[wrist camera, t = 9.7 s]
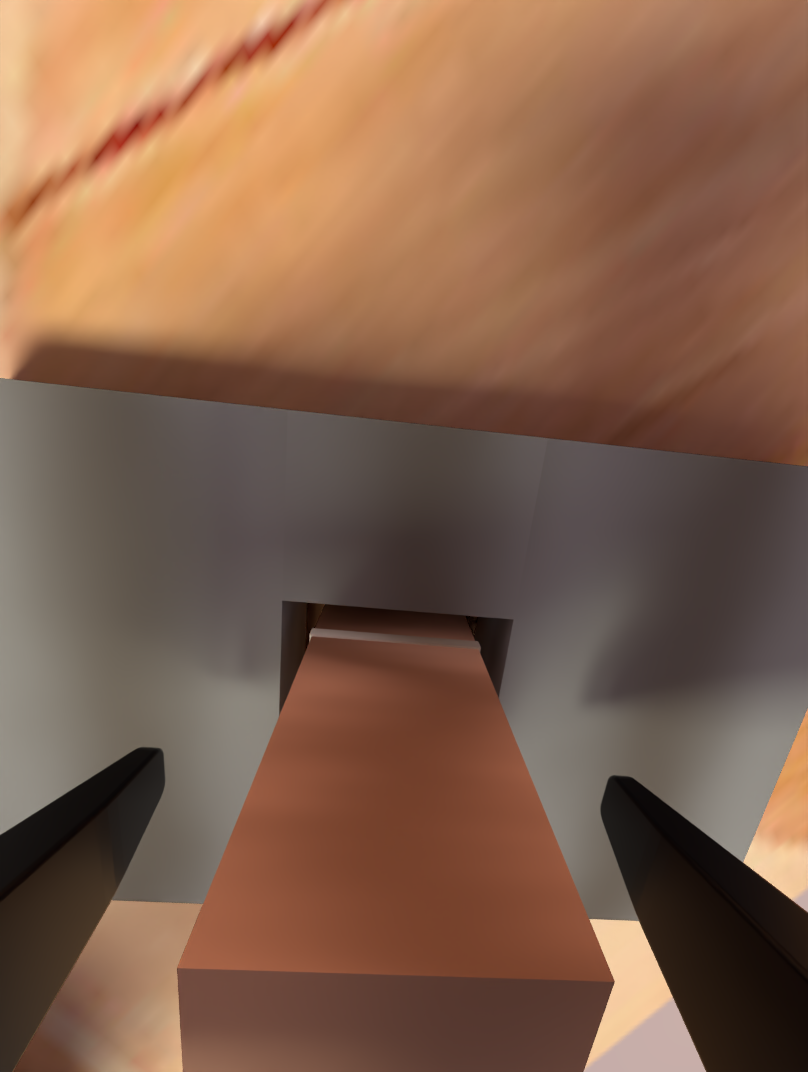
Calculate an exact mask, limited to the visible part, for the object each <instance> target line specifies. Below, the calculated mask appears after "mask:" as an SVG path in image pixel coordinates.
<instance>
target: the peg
mask: <svg viewBox="0 0 808 1072" xmlns="http://www.w3.org/2000/svg"><path fill="white" fill-rule="evenodd" d="M480 650H481V647H480V644H479V642H478V641H475V639H474V637H473V635H472V632H471V630H470V627H469V625H468V622H467V620H466V618H465V616H464V615H452V614H440V613H428V612H416V611H404V610H391V609H379V608H367V607H355V606H343V605H331V604H325V605H324V607H323V610H322V612H321V615H320V617H319V620H318V622H317V625H316V627H315V628H312V630H311V632H310V639H309V644H308V647H307V649H306V652H305V654H304V657H303V659H302V662H301V664H300V666H299V669H298V671H297V674H296V676H295V679H294V681H293V684H292V686H291V689H290V691H289V694H288V696H287V699H286V701H285V703H284V706H283V708H282V711H281V713H280V716H279V718H278V721H277V723H276V726H275V728H274V731H273V733H272V735H271V738H270V740H269V743H268V745H267V748H266V750H265V753H264V755H263V758H262V760H261V763H260V765H259V768H258V770H257V772H256V775H255V777H254V780H253V782H252V785H251V787H250V790H249V792H248V795H247V797H246V800H245V802H244V804H243V807H242V809H241V812H240V814H239V817H238V819H237V822H236V824H235V827H234V829H233V832H232V834H231V837H230V839H229V841H228V844H227V846H226V849H225V851H224V854H223V856H222V859H221V861H220V864H219V866H218V869H217V871H216V874H215V876H214V878H213V881H212V883H211V886H210V888H209V891H208V893H207V896H206V898H205V901H204V903H203V906H202V908H201V910H200V913H199V915H198V918H197V920H196V923H195V925H194V928H193V930H192V933H191V935H190V938H189V940H188V943H187V945H186V947H185V950H184V952H183V955H182V957H181V960H180V962H179V965H178V967H177V974H178V992H179V1010H180V1028H181V1045H182V1063H183V1072H583V1071H584V1068H585V1066H586V1063H587V1060H588V1057H589V1054H590V1051H591V1048H592V1045H593V1043H594V1040H595V1037H596V1034H597V1031H598V1028H599V1025H600V1022H601V1020H602V1017H603V1014H604V1011H605V1008H606V1005H607V1002H608V999H609V997H610V994H611V991H612V988H613V985H614V982H615V981H614V979H613V976H612V974H611V972H610V969H609V967H608V964H607V962H606V959H605V957H604V954H603V952H602V950H601V947H600V945H599V942H598V940H597V937H596V935H595V932H594V930H593V928H592V925H591V923H590V920H589V918H588V915H587V913H586V910H585V908H584V906H583V903H582V901H581V898H580V896H579V893H578V891H577V889H576V886H575V884H574V881H573V879H572V876H571V874H570V871H569V869H568V867H567V864H566V862H565V859H564V857H563V854H562V852H561V849H560V847H559V845H558V842H557V840H556V837H555V835H554V832H553V830H552V827H551V825H550V823H549V820H548V818H547V815H546V813H545V810H544V808H543V806H542V803H541V801H540V798H539V796H538V793H537V791H536V788H535V786H534V784H533V781H532V779H531V776H530V774H529V771H528V769H527V766H526V764H525V762H524V759H523V757H522V754H521V752H520V749H519V747H518V744H517V742H516V740H515V737H514V735H513V732H512V730H511V727H510V725H509V723H508V720H507V718H506V715H505V713H504V710H503V708H502V705H501V703H500V701H499V698H498V696H497V693H496V691H495V688H494V686H493V683H492V681H491V679H490V676H489V674H488V671H487V669H486V666H485V664H484V661H483V659H482V657H481V654H480Z"/></svg>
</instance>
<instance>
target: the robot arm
mask: <svg viewBox="0 0 808 1072" xmlns="http://www.w3.org/2000/svg"><path fill="white" fill-rule="evenodd" d="M164 788H165V764H164V753H163V750H162V749H161V748H157V747H139V748H137V749H135V750H133V751H132V752H130V753H128V754H127V755H125V756H124V757H122V758H121V759H119V760H117V761H116V762H114V763H113V764H111V765H109V766H108V767H106V768H105V769H103V770H102V771H100V772H98V773H97V774H95V775H94V776H92V777H91V778H89V779H87V780H86V781H84V782H83V783H81V784H80V785H78V786H76V787H75V788H73V789H72V790H70V791H68V792H67V793H65V794H64V795H62V796H61V797H59V798H57V799H56V800H54V801H53V802H51V803H50V804H48V805H46V806H45V807H43V808H42V809H40V810H39V811H37V812H35V813H34V814H32V815H31V816H29V817H27V818H26V819H24V820H23V821H21V822H20V823H18V824H16V825H15V826H13V827H12V828H10V829H9V830H7V831H5V832H4V833H2V834H1V835H0V1072H13V1071H14V1069H15V1068H16V1066H17V1064H18V1062H19V1061H20V1059H21V1057H22V1055H23V1054H24V1052H25V1050H26V1048H27V1047H28V1045H29V1043H30V1041H31V1040H32V1038H33V1036H34V1034H35V1033H36V1031H37V1029H38V1028H39V1026H40V1024H41V1022H42V1021H43V1019H44V1017H45V1015H46V1014H47V1012H48V1010H49V1008H50V1007H51V1005H52V1003H53V1001H54V1000H55V998H56V996H57V994H58V993H59V991H60V989H61V988H62V986H63V984H64V982H65V981H66V979H67V977H68V975H69V974H70V972H71V970H72V968H73V967H74V965H75V963H76V961H77V960H78V958H79V956H80V954H81V953H82V951H83V949H84V947H85V946H86V944H87V942H88V941H89V939H90V937H91V935H92V934H93V932H94V930H95V928H96V927H97V925H98V923H99V921H100V920H101V918H102V916H103V914H104V913H105V911H106V909H107V907H108V906H109V904H110V902H111V900H112V898H113V896H114V895H115V893H116V891H117V889H118V887H119V885H120V883H121V881H122V879H123V877H124V875H125V873H126V871H127V869H128V867H129V864H130V862H131V860H132V858H133V856H134V854H135V852H136V850H137V847H138V845H139V843H140V841H141V839H142V837H143V835H144V833H145V831H146V828H147V826H148V824H149V822H150V820H151V818H152V816H153V814H154V811H155V809H156V807H157V805H158V803H159V801H160V799H161V797H162V794H163V791H164ZM600 813H601V818H602V822H603V824H604V827H605V830H606V833H607V836H608V838H609V841H610V844H611V847H612V850H613V852H614V855H615V858H616V861H617V864H618V866H619V869H620V872H621V875H622V877H623V880H624V883H625V886H626V889H627V891H628V894H629V897H630V900H631V902H632V905H633V907H634V910H635V912H636V915H637V917H638V919H639V922H640V924H641V927H642V929H643V931H644V933H645V936H646V938H647V940H648V942H649V945H650V947H651V949H652V951H653V953H654V956H655V958H656V960H657V962H658V965H659V967H660V969H661V971H662V974H663V976H664V978H665V980H666V983H667V985H668V987H669V989H670V992H671V994H672V996H673V998H674V1001H675V1003H676V1005H677V1007H678V1009H679V1011H680V1014H681V1016H682V1018H683V1021H684V1023H685V1025H686V1027H687V1029H688V1032H689V1034H690V1036H691V1038H692V1041H693V1043H694V1045H695V1048H696V1050H697V1052H698V1054H699V1057H700V1059H701V1061H702V1063H703V1065H704V1068H705V1070H706V1072H808V912H807V911H805V910H804V909H803V908H801V907H800V906H799V905H798V904H796V903H795V902H794V901H792V900H791V899H790V898H788V897H787V896H786V895H785V894H783V893H782V892H781V891H779V890H778V889H777V888H776V887H774V886H773V885H772V884H770V883H769V882H768V881H766V880H765V879H764V878H763V877H761V876H760V875H759V874H757V873H756V872H755V871H753V870H752V869H751V868H750V867H748V866H747V865H746V864H744V863H743V862H742V861H740V860H739V859H738V858H737V857H735V856H734V855H733V854H731V853H730V852H729V851H727V850H726V849H725V848H724V847H722V846H721V845H720V844H718V843H717V842H716V841H715V840H713V839H712V838H711V837H709V836H708V835H707V834H705V833H704V832H703V831H702V830H700V829H699V828H698V827H696V826H695V825H694V824H692V823H691V822H690V821H689V820H687V819H686V818H685V817H683V816H682V815H681V814H679V813H678V812H677V811H676V810H674V809H673V808H672V807H670V806H669V805H668V804H667V803H665V802H664V801H663V800H661V799H660V798H659V797H657V796H656V795H655V794H654V793H652V792H651V791H650V790H648V789H647V788H646V787H644V786H643V785H642V784H641V783H639V782H638V781H637V780H635V779H634V778H632V777H630V776H620V775H612V776H610V777H609V778H608V780H607V784H606V787H605V791H604V794H603V798H602V801H601V806H600Z"/></svg>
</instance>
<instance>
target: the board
mask: <svg viewBox="0 0 808 1072" xmlns="http://www.w3.org/2000/svg"><path fill="white" fill-rule="evenodd" d="M307 603H319V604H331V605H343V606H355V607H367V608H379V609H391V610H404V611H416V612H428V613H440V614H452V615H464V616H476V617H478V619H477V625H476V631H475V637H474V639H475V641H478V642H479V644H480V647H481V650H480V654H481V657H482V659H483V661H484V664H485V666H486V669H487V671H488V674H489V676H490V679H491V681H492V683H493V686H494V688H495V691H496V693H497V696H498V698H499V701H500V703H501V705H502V708H503V710H504V713H505V715H506V718H507V720H508V723H509V725H510V727H511V730H512V732H513V735H514V737H515V740H516V742H517V744H518V747H519V749H520V752H521V754H522V757H523V759H524V762H525V764H526V766H527V769H528V771H529V774H530V776H531V779H532V781H533V784H534V786H535V788H536V791H537V793H538V796H539V798H540V801H541V803H542V806H543V808H544V810H545V813H546V815H547V818H548V820H549V823H550V825H551V827H552V830H553V832H554V835H555V837H556V840H557V842H558V845H559V847H560V849H561V852H562V854H563V857H564V859H565V862H566V864H567V867H568V869H569V871H570V874H571V876H572V879H573V881H574V884H575V886H576V889H577V891H578V893H579V896H580V898H581V901H582V903H583V906H584V908H585V910H586V913H587V915H588V918H589V919H605V920H631V921H639V919H638V917H637V915H636V912H635V910H634V907H633V905H632V902H631V900H630V897H629V894H628V891H627V889H626V886H625V883H624V880H623V877H622V875H621V872H620V869H619V866H618V864H617V861H616V858H615V855H614V852H613V850H612V847H611V844H610V841H609V838H608V836H607V833H606V830H605V827H604V824H603V822H602V818H601V813H600V806H601V801H602V798H603V794H604V791H605V787H606V784H607V780H608V778H609V777H610V776H612V775H620V776H630V777H632V778H634V779H635V780H637V781H638V782H639V783H641V784H642V785H643V786H644V787H646V788H647V789H648V790H650V791H651V792H652V793H654V794H655V795H656V796H657V797H659V798H660V799H661V800H663V801H664V802H665V803H667V804H668V805H669V806H670V807H672V808H673V809H674V810H676V811H677V812H678V813H679V814H681V815H682V816H683V817H685V818H686V819H687V820H689V821H690V822H691V823H692V824H694V825H695V826H696V827H698V828H699V829H700V830H702V831H703V832H704V833H705V834H707V835H708V836H709V837H711V838H712V839H713V840H715V841H716V842H717V843H718V844H720V845H721V846H722V847H724V848H725V849H726V850H727V851H729V852H730V853H731V854H733V855H734V856H735V857H737V858H738V859H739V860H740V861H742V862H743V861H744V859H745V856H746V854H747V852H748V849H749V847H750V845H751V842H752V840H753V837H754V835H755V833H756V830H757V828H758V825H759V823H760V821H761V818H762V816H763V814H764V811H765V809H766V806H767V804H768V802H769V799H770V797H771V794H772V792H773V790H774V787H775V785H776V783H777V780H778V778H779V775H780V773H781V771H782V768H783V766H784V763H785V761H786V759H787V756H788V754H789V752H790V749H791V747H792V744H793V742H794V740H795V737H796V735H797V732H798V730H799V728H800V725H801V723H802V721H803V718H804V716H805V713H806V711H807V709H808V466H799V465H789V464H780V463H771V462H762V461H753V460H744V459H735V458H725V457H716V456H707V455H698V454H689V453H680V452H671V451H661V450H652V449H643V448H634V447H625V446H616V445H607V444H598V443H588V442H579V441H570V440H561V439H552V438H543V437H534V436H524V435H515V434H506V433H497V432H488V431H479V430H470V429H460V428H451V427H442V426H433V425H424V424H415V423H406V422H396V421H387V420H378V419H369V418H360V417H351V416H342V415H333V414H323V413H314V412H305V411H296V410H287V409H278V408H269V407H259V406H250V405H241V404H232V403H223V402H214V401H205V400H195V399H186V398H177V397H168V396H159V395H150V394H141V393H132V392H122V391H113V390H104V389H95V388H86V387H77V386H68V385H58V384H49V383H40V382H31V381H22V380H13V379H4V378H0V835H1V834H2V833H4V832H5V831H7V830H9V829H10V828H12V827H13V826H15V825H16V824H18V823H20V822H21V821H23V820H24V819H26V818H27V817H29V816H31V815H32V814H34V813H35V812H37V811H39V810H40V809H42V808H43V807H45V806H46V805H48V804H50V803H51V802H53V801H54V800H56V799H57V798H59V797H61V796H62V795H64V794H65V793H67V792H68V791H70V790H72V789H73V788H75V787H76V786H78V785H80V784H81V783H83V782H84V781H86V780H87V779H89V778H91V777H92V776H94V775H95V774H97V773H98V772H100V771H102V770H103V769H105V768H106V767H108V766H109V765H111V764H113V763H114V762H116V761H117V760H119V759H121V758H122V757H124V756H125V755H127V754H128V753H130V752H132V751H133V750H135V749H137V748H139V747H157V748H161V749H162V750H163V753H164V764H165V788H164V791H163V794H162V797H161V799H160V801H159V803H158V805H157V807H156V809H155V811H154V814H153V816H152V818H151V820H150V822H149V824H148V826H147V828H146V831H145V833H144V835H143V837H142V839H141V841H140V843H139V845H138V847H137V850H136V852H135V854H134V856H133V858H132V860H131V862H130V864H129V867H128V869H127V871H126V873H125V875H124V877H123V879H122V881H121V883H120V885H119V887H118V889H117V891H116V893H115V895H114V896H113V898H112V900H121V901H146V902H172V903H197V904H203V903H204V901H205V898H206V896H207V893H208V891H209V888H210V886H211V883H212V881H213V878H214V876H215V874H216V871H217V869H218V866H219V864H220V861H221V859H222V856H223V854H224V851H225V849H226V846H227V844H228V841H229V839H230V837H231V834H232V832H233V829H234V827H235V824H236V822H237V819H238V817H239V814H240V812H241V809H242V807H243V804H244V802H245V800H246V797H247V795H248V792H249V790H250V787H251V785H252V782H253V780H254V777H255V775H256V772H257V770H258V768H259V765H260V763H261V760H262V758H263V755H264V753H265V750H266V748H267V745H268V743H269V740H270V738H271V735H272V733H273V731H274V728H275V726H276V723H277V721H278V718H279V716H280V713H281V711H282V708H283V706H284V703H285V701H286V699H287V696H288V694H289V691H290V689H291V686H292V684H293V681H294V679H295V676H296V674H297V671H298V669H299V666H300V664H301V662H302V659H303V657H304V654H305V642H306V620H307Z"/></svg>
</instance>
